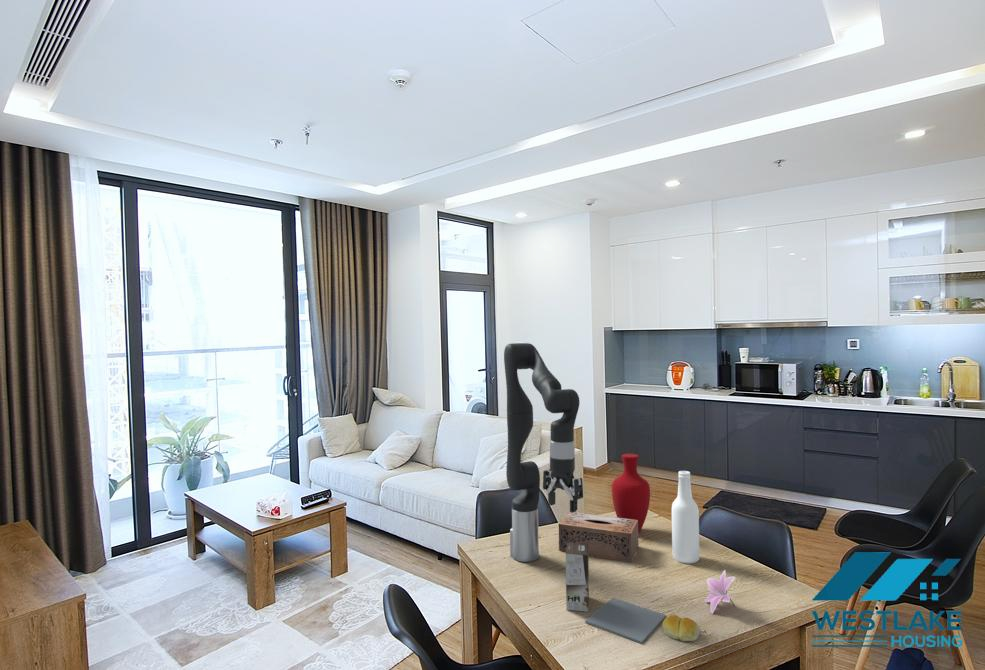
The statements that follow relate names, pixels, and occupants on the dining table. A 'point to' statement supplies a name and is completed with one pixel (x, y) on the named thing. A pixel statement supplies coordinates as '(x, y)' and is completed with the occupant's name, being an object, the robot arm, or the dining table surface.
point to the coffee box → (577, 577)
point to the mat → (626, 620)
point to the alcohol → (685, 523)
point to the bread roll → (681, 628)
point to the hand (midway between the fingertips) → (562, 508)
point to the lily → (718, 590)
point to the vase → (631, 492)
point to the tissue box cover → (600, 535)
